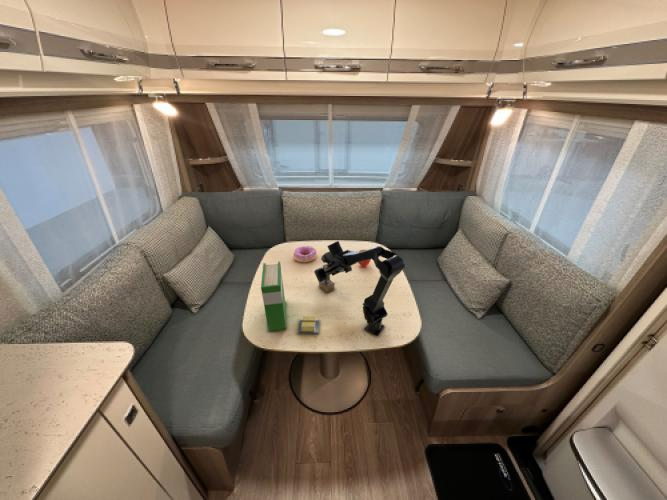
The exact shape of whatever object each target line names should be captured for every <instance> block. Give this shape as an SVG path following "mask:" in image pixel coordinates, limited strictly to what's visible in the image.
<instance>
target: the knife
mask: <svg viewBox="0 0 667 500" xmlns="http://www.w3.org/2000/svg"><path fill="white" fill-rule="evenodd" d="M322 268H323V269H324V271H328V267H327V263H324V264H323V265H322ZM329 273H330V272H329ZM326 274H328V273H326ZM328 280H331V275H328V276H327V279H326V280H325V282H326V283H328V284H329V281H328Z"/></svg>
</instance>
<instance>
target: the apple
mask: <svg viewBox="0 0 667 500" xmlns="http://www.w3.org/2000/svg"><path fill="white" fill-rule="evenodd" d="M365 250H366V249H360V250H359V251H358V252H361V251H365ZM371 260H372V259H369V260H365V261H361V262H358V263H357V264H359V265H360V267H361V268H366V267H368V265H369V264H370V262H371Z"/></svg>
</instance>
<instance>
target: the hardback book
mask: <svg viewBox="0 0 667 500" xmlns="http://www.w3.org/2000/svg"><path fill="white" fill-rule="evenodd" d="M260 290H261V295H262V302H263V307H264V312H265V317H266V324H267V329H268V332H274V331H280V330H287V319H286V318H287V317H286V316H287V315H286V314H287V313H286V311H287V310H286V297H285V289H284V280H283V273H282V265H281V261H277V263H273V264H266V262H263V263H262V272H261V284H260Z"/></svg>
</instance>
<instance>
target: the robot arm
mask: <svg viewBox="0 0 667 500" xmlns="http://www.w3.org/2000/svg"><path fill="white" fill-rule="evenodd" d="M326 247H327V249H328V251H327V252H324V254H322V255H321V258H320V260H321V261H322V263H323V264H327V267H328V271H324V269H323V266H322V267H319V268H316V269H315V270H314V271H313V273H314V275H315V277H316V280H317V282H318V283H319V282H322V281H324V280H326V279H327V276H328V275H330V276H331V275H332V277H333V276H336V275H338V274H340V273H345V274H348V273H350V272H352V271H353V268H352V266H354V265H356V264H359V263H358V262H361V261H365V260H369V259H371V260H372V261H373V263H374V265H375V266H374V267H376V269H378V272H379V274H380V276H379V278H378V281H377V283H376V285H375V288H374V290H373V291H372V292H373V293H372V294H371V295H369V296H367V297H366V298H364V300H363V302H362V312H363V313H362V314H363V317H364V320H365V321H366V323H367V325H366V326H365V327H364V330H365V331H366V332H369V333H371V334H373V335H375V336H379V335H380V334H381V332H382V331H383V329H385V325H384V324H383V319H385V318H387V316H388V314H389V313H388V312H387V309H386V307H385V302H384V299H385V297H386V295H387V293H388V291H389V289H390V287H391V284H392V282H393V281H394V279H395V278H396V277H397V276H398V275H399V274H400V273H401V272H402V271H403V270H404V268H405V266H406V263H405V261H404V259H403V258H402V257H401V256H399V255H398V254H397V253H396V252H394V251H393V250H392V251H391V250H389V249H385V248H384V247H383V246H381V245H380V246H379V245H376V246H374V247H372V248H368V249H364V250H365V251H361V252H359V251H358V250H350V249H346V250H344V249H343V247H342V246H341V243H340V241H339V240H337V241H334V242H333V243H330V244H328V245H326ZM380 257H381V258H384V260H381V259H380ZM329 272H330V273H329ZM326 273H328V274H326Z"/></svg>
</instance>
